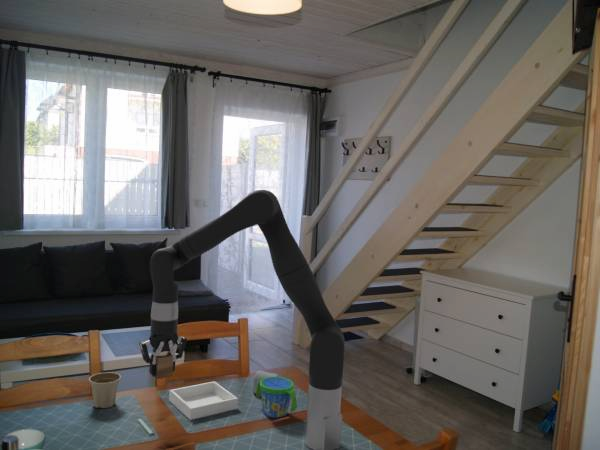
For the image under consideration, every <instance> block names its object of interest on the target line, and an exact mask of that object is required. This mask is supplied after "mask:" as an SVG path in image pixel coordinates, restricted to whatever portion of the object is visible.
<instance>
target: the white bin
mask: <svg viewBox="0 0 600 450" xmlns="http://www.w3.org/2000/svg"><path fill="white" fill-rule="evenodd" d="M168 393H169V396H168V397H169V398H168V401H169V402H170V403H171V404H173V406H174V407H176V409H178V411H180V412H181V413H182V414H183V415H184V416H185V417H186V418H187V419H188V420H189V421H191V420H192V421H193V420H196V419H201V418H205V417H210V416H215V415H218V414H222V413H225V412H229V411H235V410H238V401H239V399H238V398H239V397H237V396H236V395H235V394H233V393H231V391H228V390H227V389H226V388H224V387H223V386H221V384H219V383H218V382H217V381H215V380H214V381H209V382H204V383H198V384H194V385H188V386H183V387H178V388H173V389H169V392H168Z"/></svg>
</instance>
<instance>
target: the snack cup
mask: <svg viewBox="0 0 600 450" xmlns="http://www.w3.org/2000/svg"><path fill="white" fill-rule="evenodd" d="M294 386H295V384H294V382H293V381H292V380H291V379H289V378H285V377H282V376H279V377H268V378H264V379H263V380H261V381H259V383H258V385H257V389H256V393H255V396H256V397H257V398H260V397H261V405H262V414H263V415H264V416H265V417H268V418H269V417H270V418H272V419H273V418H274V419H275V418H276V419H277V418H278V419H279V418H284V417H285V416H286V415H287V414H288V412H289V406H290V401H291V402H292V403H291V407H290V413H293V412H295V411H296V410H297V407H298V403H297V401H298V400H297V396H296V393H295V390H294Z"/></svg>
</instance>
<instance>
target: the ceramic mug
mask: <svg viewBox="0 0 600 450" xmlns="http://www.w3.org/2000/svg"><path fill="white" fill-rule="evenodd" d="M268 377H280V376H279V375H278V374H276V373H272V372H267V371H263V370H257V371H256V372H255V374H254V377H253V383H252V393H253V394H256V389H257V385H258V383H259V381H261V380H263V379H264V378H268Z"/></svg>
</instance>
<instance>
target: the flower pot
mask: <svg viewBox="0 0 600 450" xmlns="http://www.w3.org/2000/svg"><path fill="white" fill-rule="evenodd" d="M121 379H122V375H121V374H119V373H116V372H110V371H109V372H108V371H107V372H99V373H96V374H92V375H91V376H89V378H88V382H89V383H90V386H91V392H92V401H93V406H94V408H97V409H99V408H101V409H107V408H111V407H113V405H115V404H116V399H117V393H118V387H119V383H120V380H121Z"/></svg>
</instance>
